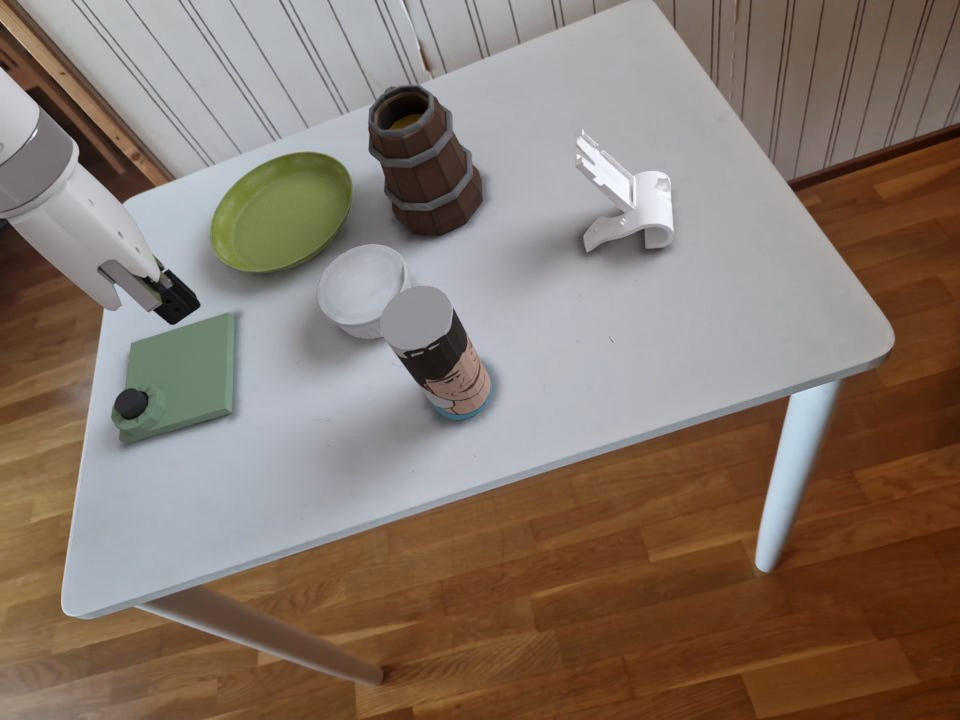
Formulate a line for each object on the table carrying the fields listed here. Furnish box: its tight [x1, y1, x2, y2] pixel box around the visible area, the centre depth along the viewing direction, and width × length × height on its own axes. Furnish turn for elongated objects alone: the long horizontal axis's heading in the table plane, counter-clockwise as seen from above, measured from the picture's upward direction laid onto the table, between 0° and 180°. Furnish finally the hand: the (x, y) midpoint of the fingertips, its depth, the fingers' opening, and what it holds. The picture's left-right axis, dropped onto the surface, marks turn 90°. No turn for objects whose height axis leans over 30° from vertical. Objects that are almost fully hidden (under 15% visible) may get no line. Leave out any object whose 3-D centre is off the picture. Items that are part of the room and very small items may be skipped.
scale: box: [110, 312, 236, 445], centre depth 82 cm, size 14×14×3 cm
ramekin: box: [316, 243, 413, 340], centre depth 78 cm, size 11×11×5 cm
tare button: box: [113, 388, 148, 419], centre depth 78 cm, size 3×3×2 cm
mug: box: [367, 84, 484, 236], centre depth 81 cm, size 16×12×15 cm
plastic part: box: [574, 128, 675, 253], centre depth 72 cm, size 8×10×12 cm
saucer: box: [209, 151, 354, 274], centre depth 90 cm, size 21×21×3 cm
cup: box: [380, 285, 493, 421], centre depth 66 cm, size 7×7×15 cm
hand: (184, 310), depth 60 cm, fingers closed
